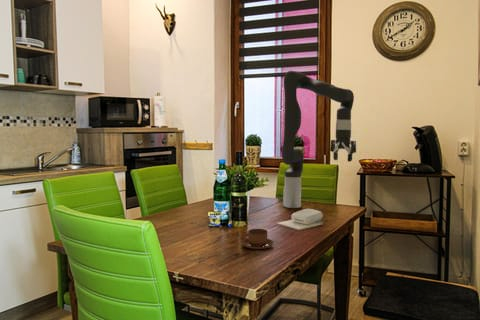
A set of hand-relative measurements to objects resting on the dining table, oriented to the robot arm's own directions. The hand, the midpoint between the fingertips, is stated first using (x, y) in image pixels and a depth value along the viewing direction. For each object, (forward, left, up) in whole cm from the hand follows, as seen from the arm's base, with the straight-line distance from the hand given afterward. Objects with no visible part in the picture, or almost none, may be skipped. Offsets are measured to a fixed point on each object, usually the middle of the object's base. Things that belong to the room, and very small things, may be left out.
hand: (342, 160), depth 206 cm
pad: (0, -31, -28) cm, 42 cm away
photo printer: (0, -20, -24) cm, 32 cm away
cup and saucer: (+14, -69, -28) cm, 76 cm away
